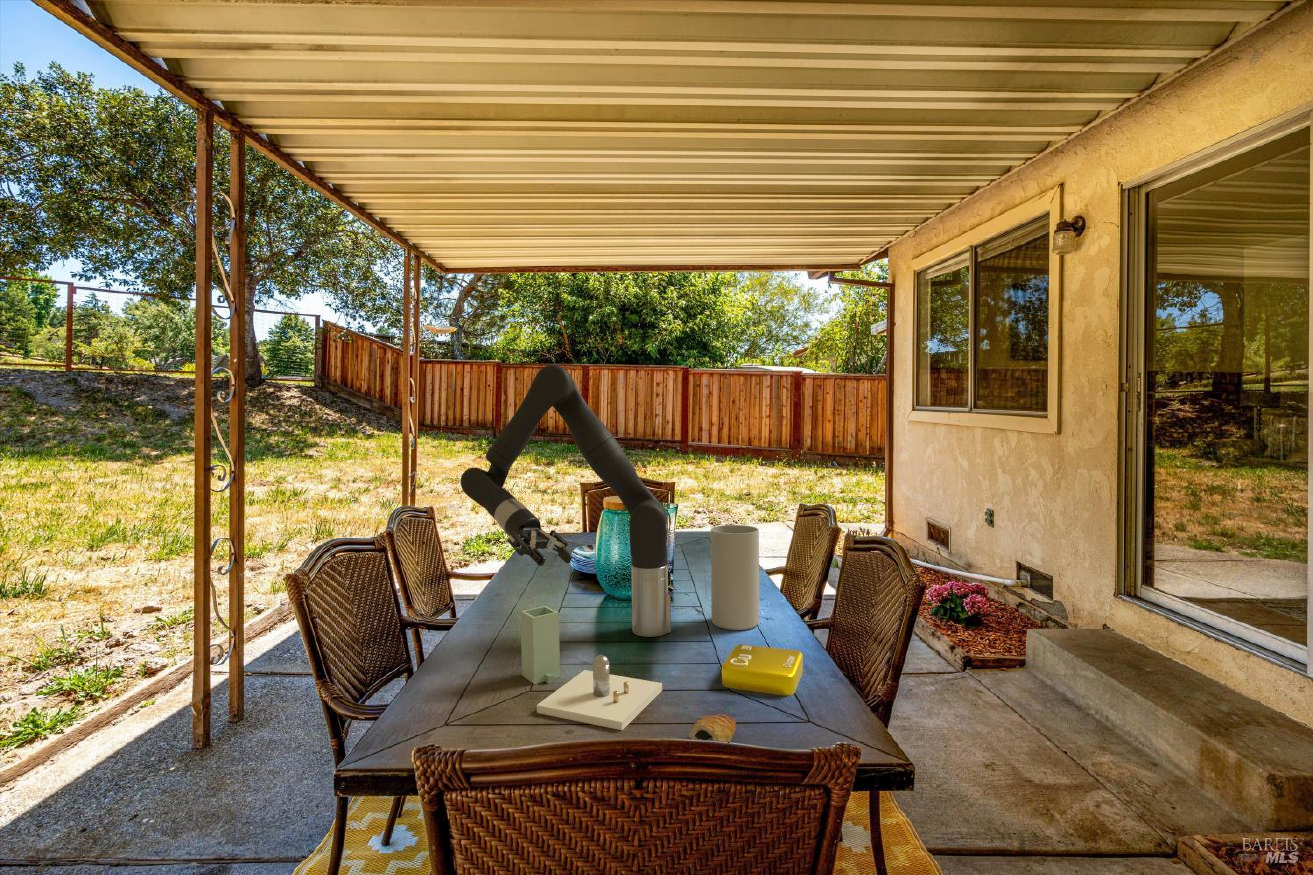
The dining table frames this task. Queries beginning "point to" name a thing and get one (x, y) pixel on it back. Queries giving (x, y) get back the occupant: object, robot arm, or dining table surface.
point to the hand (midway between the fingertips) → (557, 561)
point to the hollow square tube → (540, 644)
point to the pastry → (714, 728)
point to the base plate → (600, 697)
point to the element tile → (763, 669)
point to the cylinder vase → (735, 576)
